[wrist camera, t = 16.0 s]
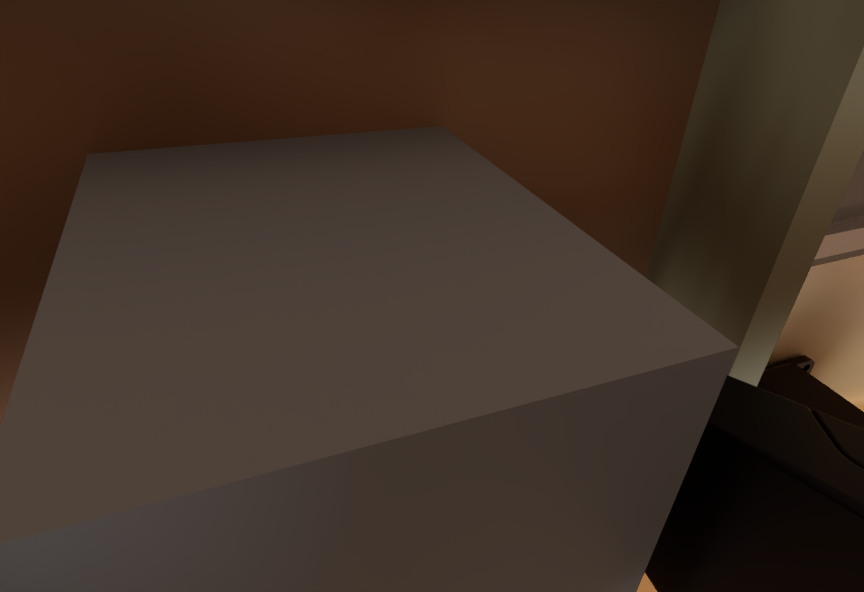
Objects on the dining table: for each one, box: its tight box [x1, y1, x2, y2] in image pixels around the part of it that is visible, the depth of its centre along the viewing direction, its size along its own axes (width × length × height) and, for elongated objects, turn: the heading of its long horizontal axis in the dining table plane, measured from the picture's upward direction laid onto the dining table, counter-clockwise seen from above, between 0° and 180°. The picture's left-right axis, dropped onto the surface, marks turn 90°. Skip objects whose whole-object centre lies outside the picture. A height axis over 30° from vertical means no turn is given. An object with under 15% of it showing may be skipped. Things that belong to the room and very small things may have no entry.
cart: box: [0, 0, 864, 425], centre depth 10 cm, size 11×16×6 cm
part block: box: [0, 126, 739, 592], centre depth 7 cm, size 5×5×6 cm
